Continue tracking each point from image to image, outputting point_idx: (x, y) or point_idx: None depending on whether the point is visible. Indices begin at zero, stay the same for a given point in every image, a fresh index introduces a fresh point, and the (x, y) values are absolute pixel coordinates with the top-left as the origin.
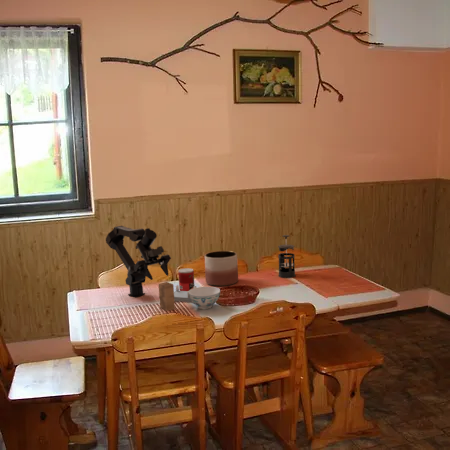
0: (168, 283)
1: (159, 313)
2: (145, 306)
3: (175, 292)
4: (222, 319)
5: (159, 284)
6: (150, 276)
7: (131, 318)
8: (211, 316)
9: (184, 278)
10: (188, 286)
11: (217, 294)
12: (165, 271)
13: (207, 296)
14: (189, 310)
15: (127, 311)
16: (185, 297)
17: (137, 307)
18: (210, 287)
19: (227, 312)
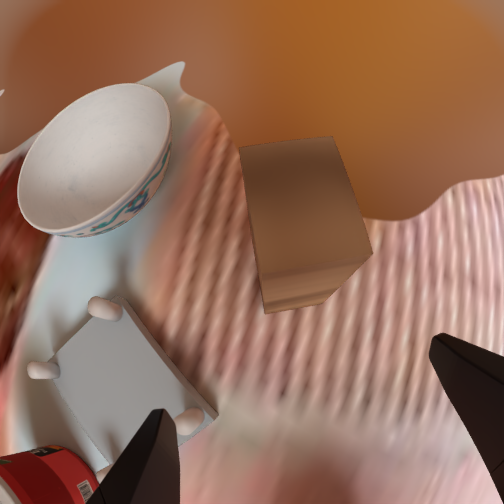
0: (268, 199)
1: None
2: (381, 383)
3: None
4: (168, 67)
5: (365, 232)
6: (473, 345)
7: (469, 236)
8: (175, 93)
9: (36, 482)
10: (52, 455)
11: (79, 105)
12: (163, 481)
13: (127, 86)
14: (201, 180)
15: None
16: (131, 325)
17: (421, 387)
18: (22, 203)
19: None
